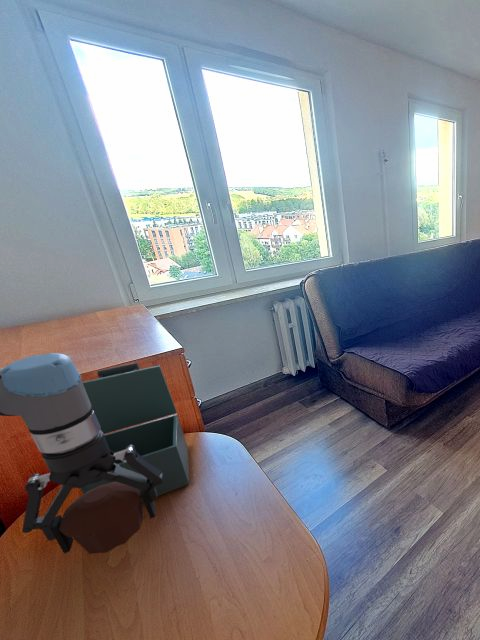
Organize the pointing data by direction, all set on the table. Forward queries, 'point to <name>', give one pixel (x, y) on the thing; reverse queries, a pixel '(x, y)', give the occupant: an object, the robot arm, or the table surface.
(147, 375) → the lid
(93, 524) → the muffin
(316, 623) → the table surface
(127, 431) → the chest
